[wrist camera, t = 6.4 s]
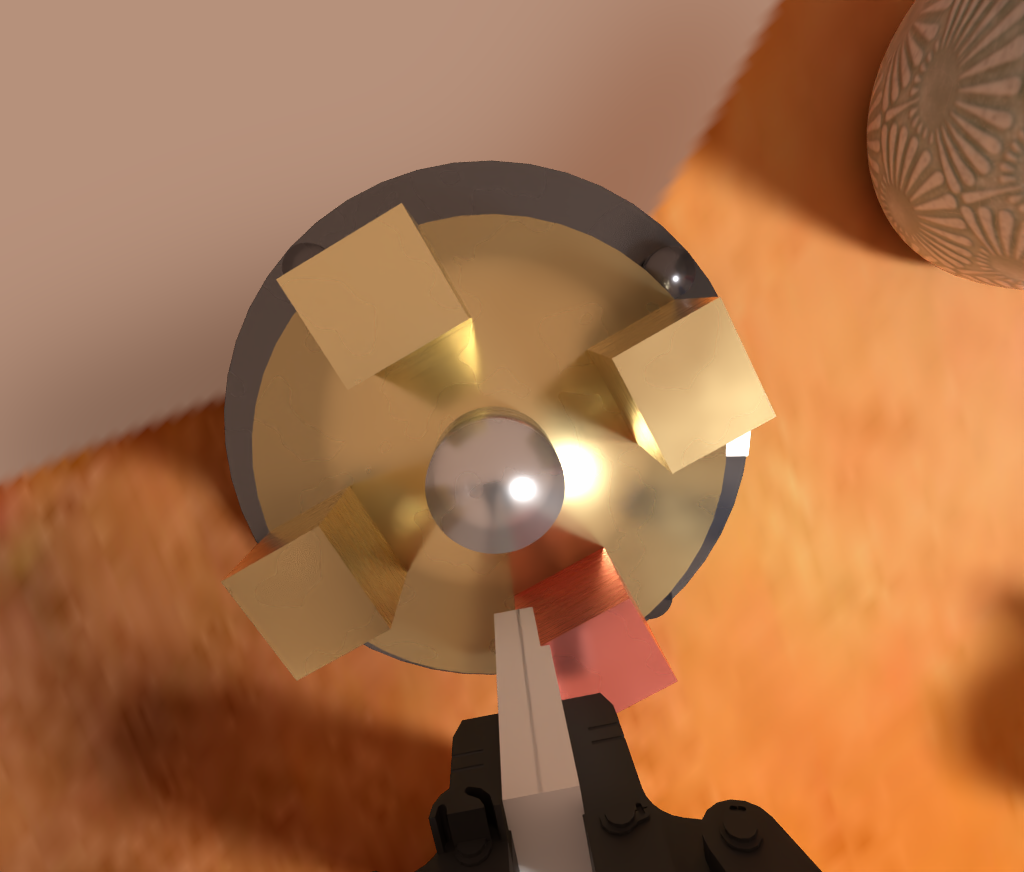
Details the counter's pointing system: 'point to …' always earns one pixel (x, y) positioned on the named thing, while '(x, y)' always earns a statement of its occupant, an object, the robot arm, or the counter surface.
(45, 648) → the counter surface
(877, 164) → the planter
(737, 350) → the brass disc with cubes
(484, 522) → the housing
